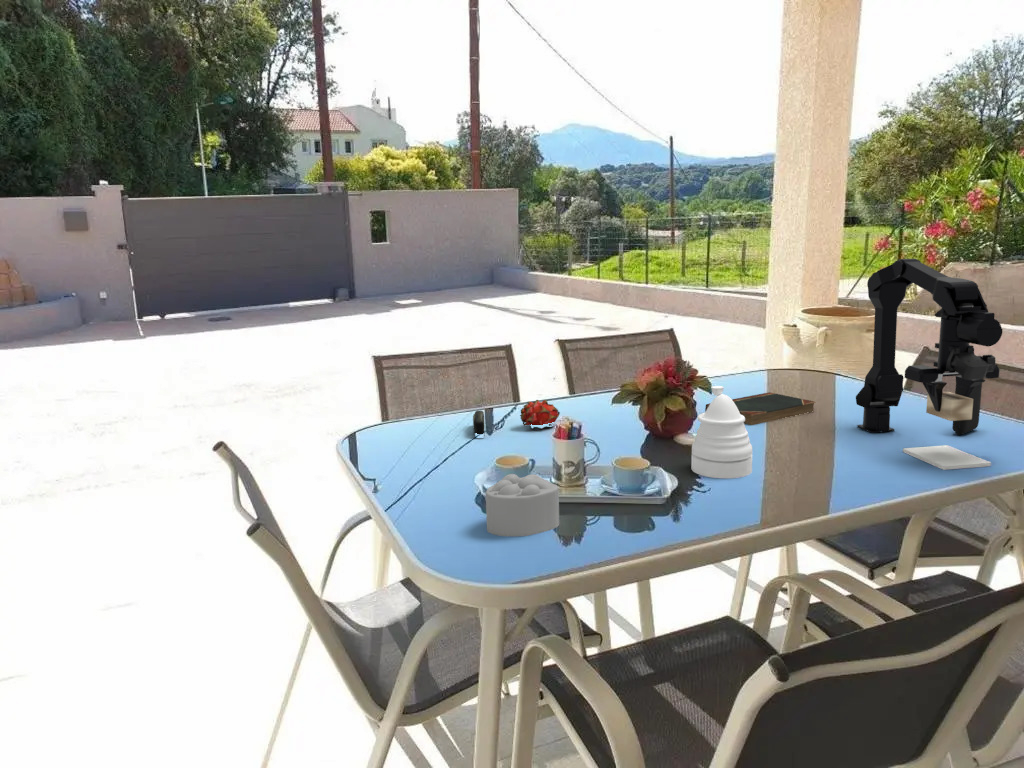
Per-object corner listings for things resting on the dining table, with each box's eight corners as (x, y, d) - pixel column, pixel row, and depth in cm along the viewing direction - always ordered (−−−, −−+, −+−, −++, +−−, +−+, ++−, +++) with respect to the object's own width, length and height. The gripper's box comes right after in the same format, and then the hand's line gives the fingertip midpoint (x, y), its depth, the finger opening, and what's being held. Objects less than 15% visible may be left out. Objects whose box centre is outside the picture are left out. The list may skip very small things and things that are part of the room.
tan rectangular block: (950, 420, 171) (951, 400, 170) (926, 412, 179) (927, 392, 178) (971, 419, 172) (973, 398, 171) (946, 411, 179) (948, 391, 178)
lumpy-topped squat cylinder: (565, 526, 145) (565, 480, 143) (503, 542, 139) (501, 494, 137) (536, 509, 154) (535, 466, 152) (476, 523, 148) (474, 479, 146)
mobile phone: (485, 421, 205) (483, 406, 220) (473, 422, 205) (472, 407, 219) (485, 440, 206) (484, 424, 221) (474, 440, 206) (473, 424, 221)
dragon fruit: (516, 436, 213) (556, 436, 218) (529, 423, 207) (570, 424, 212) (511, 407, 217) (550, 408, 222) (524, 393, 210) (564, 395, 215)
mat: (902, 451, 183) (903, 448, 183) (946, 448, 184) (947, 445, 184) (943, 469, 169) (943, 466, 169) (990, 466, 171) (991, 462, 171)
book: (751, 427, 210) (815, 414, 222) (752, 414, 209) (816, 401, 222) (704, 415, 225) (767, 403, 237) (704, 403, 224) (767, 391, 237)
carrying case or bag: (960, 438, 192) (964, 378, 190) (947, 435, 195) (951, 376, 192) (980, 430, 199) (985, 372, 196) (967, 428, 201) (972, 370, 198)
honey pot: (679, 465, 178) (680, 386, 175) (727, 458, 183) (729, 380, 179) (714, 481, 167) (715, 397, 163) (764, 473, 171) (767, 390, 168)
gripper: (939, 347, 163) (933, 422, 166) (1022, 342, 165) (1015, 416, 168) (905, 340, 174) (900, 410, 177) (983, 335, 176) (977, 404, 179)
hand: (948, 410), depth 175 cm, fingers closed on tan rectangular block, 5 cm apart
